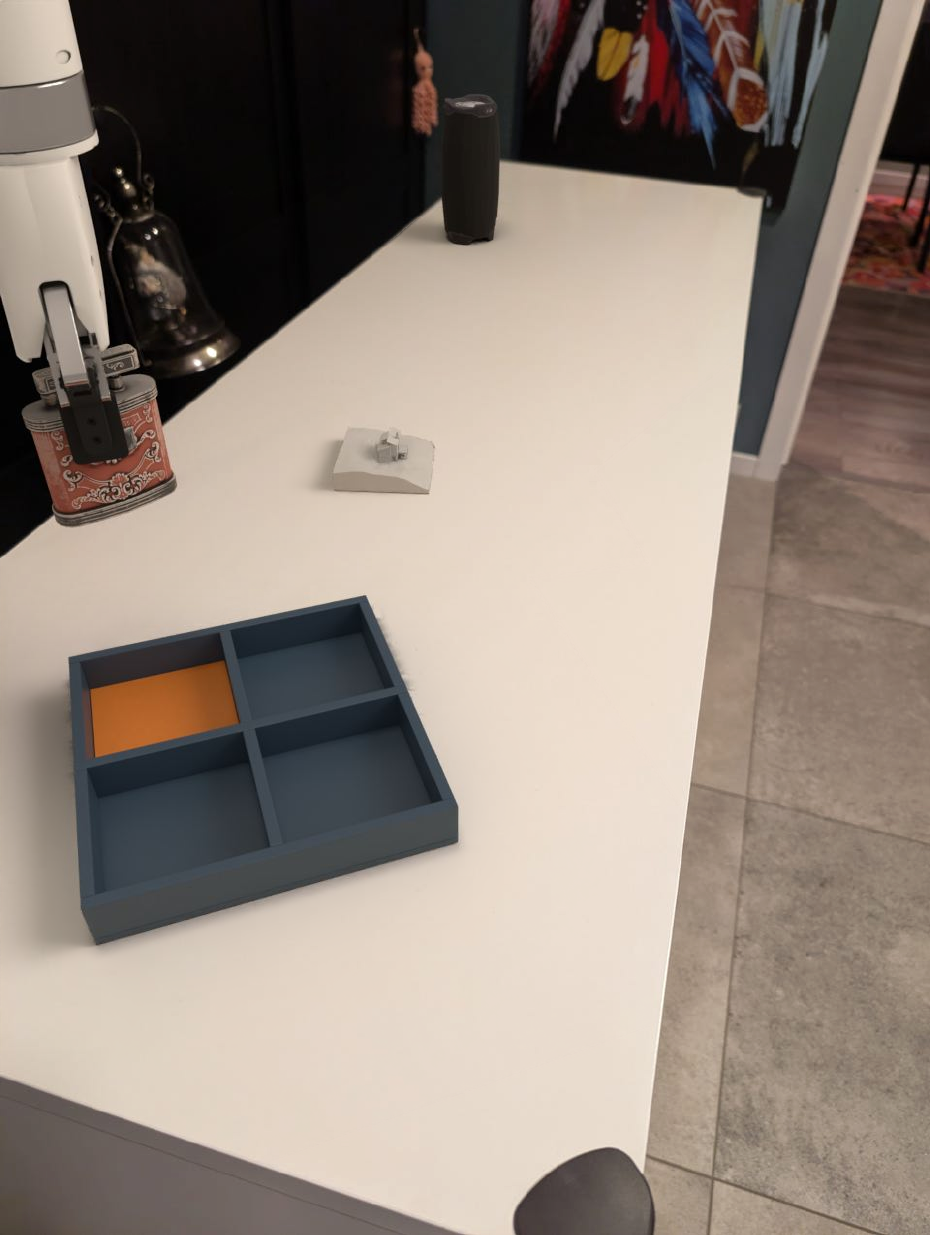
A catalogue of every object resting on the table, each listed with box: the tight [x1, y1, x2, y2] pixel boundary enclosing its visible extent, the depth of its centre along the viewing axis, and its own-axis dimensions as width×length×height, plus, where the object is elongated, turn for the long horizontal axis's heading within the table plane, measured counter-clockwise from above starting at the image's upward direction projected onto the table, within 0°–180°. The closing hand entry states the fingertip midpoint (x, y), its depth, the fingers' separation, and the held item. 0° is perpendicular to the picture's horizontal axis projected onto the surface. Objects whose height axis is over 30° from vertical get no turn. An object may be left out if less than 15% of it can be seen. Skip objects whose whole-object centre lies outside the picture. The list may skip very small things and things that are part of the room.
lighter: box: [21, 343, 178, 529], centre depth 59 cm, size 8×3×10 cm, turn 129°
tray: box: [67, 594, 459, 946], centre depth 66 cm, size 22×22×4 cm
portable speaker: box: [440, 93, 501, 246], centre depth 145 cm, size 9×9×20 cm
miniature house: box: [331, 426, 436, 494], centre depth 96 cm, size 12×11×4 cm
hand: (99, 436), depth 60 cm, fingers closed on lighter, 4 cm apart
